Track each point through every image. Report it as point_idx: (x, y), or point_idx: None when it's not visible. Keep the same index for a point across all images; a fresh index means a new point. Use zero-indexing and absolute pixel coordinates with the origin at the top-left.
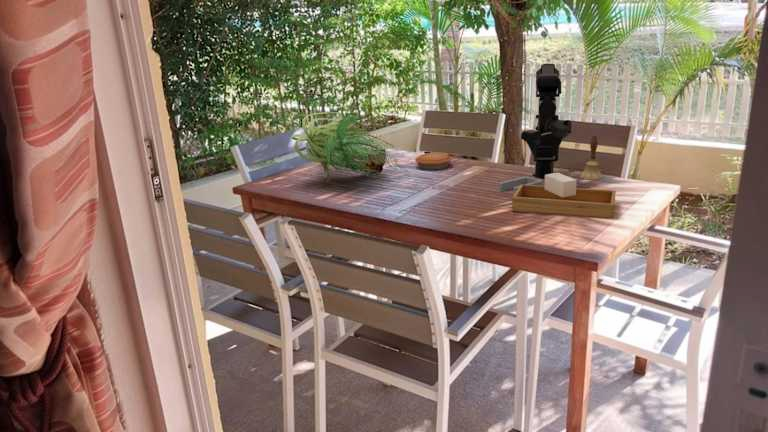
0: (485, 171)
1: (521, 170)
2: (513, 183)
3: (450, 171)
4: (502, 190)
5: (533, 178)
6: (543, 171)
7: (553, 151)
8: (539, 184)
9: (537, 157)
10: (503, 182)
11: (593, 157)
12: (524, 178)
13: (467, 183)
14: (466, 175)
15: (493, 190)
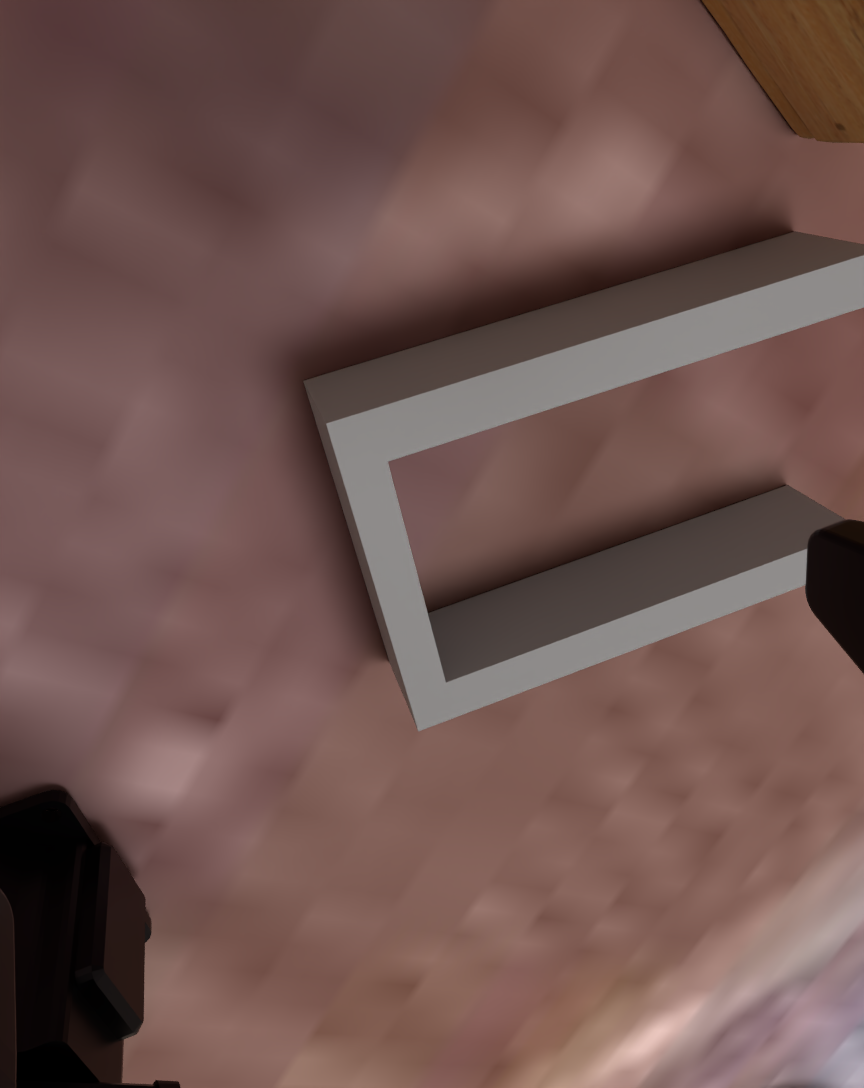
0: (508, 1069)
1: (181, 1083)
2: (652, 576)
3: (721, 1077)
4: (781, 493)
5: (392, 603)
6: (44, 905)
7: (4, 993)
8: (400, 383)
9: (850, 535)
10: None
11: None
12: (479, 663)
13: (831, 808)
14: (696, 990)
15: None
